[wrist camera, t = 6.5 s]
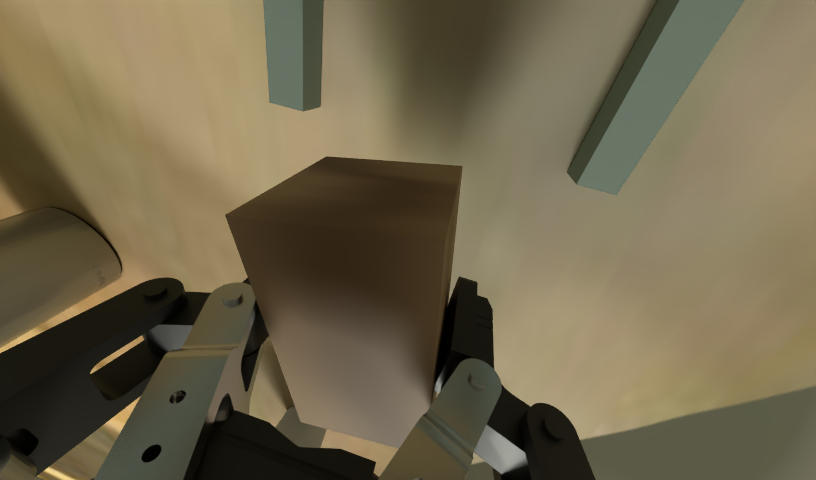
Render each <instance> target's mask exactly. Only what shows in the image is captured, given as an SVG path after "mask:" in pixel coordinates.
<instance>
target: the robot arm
mask: <svg viewBox="0 0 816 480" xmlns="http://www.w3.org/2000/svg"><path fill="white" fill-rule="evenodd" d="M120 275H121V267H120V264H119V261H118V259H117V257H116V255H115V253H114V252H113V250H112V249H111V248H110V246H109V245H108V244H107V243H106V242H105V240H104V239H103V238H102V237H101V236H100V235H99V234H98V233H97V232H96V231H94V230H93V229H92V228H91V227H90V226H88V225H87V224H86V223H84V222H83V221H82V220H80V219H78V218H77V217H75V216H74V215H72V214H69V213H67V212H65V211H63V210H59V209H56V208H43V209H40V210H37V211H34V212H33V211H27V212H24V213H20V214H17V215H14V216H11V217H8V218H5V219H2V220H0V348H1V347H3V346H5V345H6V344H8V343H10V342H11V341H13V340H15V339H17V338H18V337H20V336H22V335H23V334H25V333H27V332H29V331H30V330H32V329H34V328H35V327H37V326H39V325H41V324H42V323H44V322H46V321H48V320H49V319H51V318H53V317H54V316H56V315H58V314H60V313H61V312H63V311H65V310H66V309H68V308H70V307H72V306H73V305H75V304H77V303H79V302H80V301H82V300H84V299H86V298H87V297H89V296H91V295H92V294H94V293H96V292H98V291H99V290H101V289H103V288H104V287H106V286H108V285H110V284H111V283H113V282H115V281H116V280H118V279H119V277H120ZM492 321H493V314H492V308H491V305H490V303H489V301H488V299H487V298H484V297H481V296H478V295H477V282H476V281H472V280H469V279H466V278H462V277H459V278H458V280H457V283H456V285H455V288H454V290H453V293H452V296H451V298H450V301H449V303H448V306H447V312H446V318H445V324H444V330H443V337H442V343H441V349H440V355H439V362H438V368H437V374H436V380H435V387H434V391H435V392H438V393H439V394H438V396H437V397H436V399H435V400H434V402H433V403H432V405H431V406H430V408H429V409H428V411H427V412H426V413H425V414H423V415H422V416H421V418H420V419H419V420H418V422H417V423H416V425H415V426H414V427H413V429H412V430H411V432H410V433H409V435H408V436H407V438H406V439H405V441H404V442H403V444H402V445H401V446H400V448H399V449H398V451H397V452H396V454H395V455H394V457H393V458H392V460H391V461H390V462H389V464H388V465H387V467H386V468H385V470H384V471H383V473H382V474H381V476H380V477H378V476H377V475H376V474H374V473H373V472H374V468H375V464H376V462H374V461H372V460H369V459H366V458H364V457H361V456H358V455H355V454H353V453H350V452H347V451H345V450H342V449H332V448H310V447H299V446H297V445H296V444H294V443H293V442H292V441H291V440H289V439H288V438H287V437H286V436H285V435H283V434H282V433H281V432H280V431H278V430H277V429H276V428H275V427H274V426H272V425H271V424H270V423H269V422H266V421H264V420H261V419H258V418H255V417H253V416H250V415H249V405H250V398H251V393H252V390H253V386H254V382H255V378H256V375H257V371H258V367H259V363H260V359H261V356H262V352H263V348H264V343H263V342H264V341H265V340H266V338H267V337H268V336H269V334H268V331H267V328H266V326H265V323H264V320H263V317H262V315H261V312H260V309H259V306H258V304H257V301H256V298H255V295H254V293H253V290H252V287H251V284H250V282H249V279H248V278H247V279H246V280H244V281H243V282H242V283H230V284H226V285H223V286H221V287H219V288H217V289H215V290H214V291H213V292H212V293H203V292H185V290H184V287H183V284H182V283H181V282H180V281H179V280H177V279H174V278H157V279H152V280H149V281H146V282H143V283H141V284H139V285H137V286H135V287H133V288H131V289H129V290H127V291H125V292H123V293H121V294H119V295H117V296H115V297H113V298H111V299H109V300H107V301H105V302H103V303H101V304H99V305H97V306H95V307H93V308H91V309H89V310H87V311H85V312H83V313H81V314H79V315H76V316H74V317H72V318H70V319H68V320H66V321H64V322H62V323H60V324H58V325H56V326H54V327H52V328H50V329H48V330H46V331H44V332H42V333H40V334H38V335H36V336H34V337H32V338H30V339H28V340H26V341H24V342H22V343H20V344H18V345H16V346H14V347H12V348H10V349H8V350H6V351H4V352H2V353H0V480H34V479H35V477H36V476H37V475H39V474H40V473H41V472H43V471H44V470H45V469H46V468H48V467H49V466H50V465H52V464H53V463H54V462H56V461H57V460H58V459H59V458H61V457H62V456H63V455H65V454H66V453H67V452H68V451H70V450H71V449H72V448H74V447H75V446H76V445H78V444H79V443H80V442H81V441H83V440H84V439H85V438H87V437H88V436H89V435H91V434H92V433H93V432H94V431H96V430H97V429H98V428H100V427H101V426H102V425H104V424H105V423H106V422H107V421H109V420H110V419H111V418H113V417H114V416H115V415H116V414H118V413H119V412H120V411H122V410H123V409H124V408H126V407H127V406H128V405H129V404H131V403H132V402H133V401H135V400H136V399H137V398H139V397H140V396H141V397H140V399H139V401H138V403H137V404H136V406H135V408H134V410H133V411H132V413H131V415H130V417H129V418H128V420H127V422H126V424H125V425H124V427H123V429H122V431H121V433H120V434H119V436H118V438H117V440H116V441H115V443H114V445H113V447H112V448H111V450H110V452H109V454H108V456H107V457H106V459H105V461H104V463H103V464H102V466H101V468H100V470H99V471H98V473H97V475H96V477H95V478H93V479H91V480H464V479H465V476H466V474H467V472H468V470H469V467H470V465H471V463H472V460H473V452H474V453H475V454H477V455H478V456H479V457H480V458H482V459H483V460H484V461H486V462H487V463H488V464H489V465H491V466H492V468H493V474H494V480H595V477H594V475H593V473H592V470H591V467H590V465H589V462H588V460H587V457H586V455H585V452H584V450H583V447H582V445H581V442H580V440H579V437H578V435H577V432H576V430H575V428H574V426H573V425H572V423H571V422H570V420H569V419H568V418H567V417H566V416H565V415H564V414H563V413H562V412H561V411H559V410H558V409H557V408H555V407H553V406H551V405H549V404H545V403H536V404H534V405H533V406H531V407H530V406H529V405H527V404H526V403H524V402H523V401H521V400H520V399H518V398H517V397H515V396H514V395H512V394H511V393H510V392H509V391H507V390H506V389H505V388H504V386H503V385H502V384H501V381H500V378H499V376H498V374H497V373H496V372H495V370H494V352H493V331H492V330H493V322H492ZM141 335H142V336H143V338H144V341H142V342H141V343H139V344H138V345H136V346H134V347H133V348H131V349H130V350H128V351H127V352H125V353H124V354H122V355H120V356H119V357H117V358H116V359H114V360H113V361H111V362H110V363H108V364H106V365H105V366H103V367H102V368H100V369H99V370H97V371H95V372H94V373H92V374H90V372H91V370H92V369H93V367H94V366H95V365H96V364H97V363H99V362H100V361H101V360H103V359H104V358H106V357H108V356H109V355H111V354H112V353H114V352H116V351H117V350H119V349H120V348H122V347H124V346H125V345H127V344H128V343H130V342H132V341H133V340H135V339H136V338H138V337H140V336H141Z"/></svg>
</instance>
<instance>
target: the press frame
mask: <svg viewBox="0 0 816 480" xmlns="http://www.w3.org/2000/svg"><path fill="white" fill-rule="evenodd" d="M743 2H744V0H658V1H657V3H656V4H655V6H654V8H653V10H652V12H651V14H650V16H649V18H648V20H647V21H646V23H645V25H644V27H643V29H642V31H641V33H640V35H639V37H638V39H637V40H636V42H635V44H634V46H633V48H632V50H631V52H630V54H629V56H628V58H627V59H626V61H625V63H624V65H623V67H622V69H621V71H620V73H619V75H618V77H617V78H616V80H615V82H614V84H613V86H612V88H611V90H610V92H609V94H608V95H607V97H606V99H605V101H604V103H603V105H602V107H601V109H600V111H599V113H598V114H597V116H596V118H595V120H594V122H593V124H592V126H591V128H590V130H589V132H588V133H587V135H586V137H585V139H584V141H583V143H582V145H581V147H580V149H579V151H578V152H577V154H576V156H575V158H574V160H573V162H572V164H571V166H570V168H569V169H568V171H567V173H568V174H569V176H570V177H571V178H572V179H573V181H574V182H575V183H576V185H580V186H584V187H588V188H591V189H595V190H599V191H603V192H606V193H610V194H614V195H617V194H618V192H619V191H620V189H621V187H622V186H623V184H624V183H625V181H626V180H627V178H628V177H629V175H630V174H631V172H632V171H633V169H634V168H635V166H636V165H637V163H638V162H639V160H640V159H641V157H642V155H643V154H644V152H645V151H646V149H647V148H648V146H649V145H650V143H651V142H652V140H653V139H654V137H655V136H656V134H657V133H658V131H659V130H660V128H661V127H662V125H663V123H664V122H665V120H666V119H667V117H668V116H669V114H670V113H671V111H672V110H673V108H674V107H675V105H676V104H677V102H678V101H679V99H680V98H681V96H682V95H683V93H684V91H685V90H686V88H687V87H688V85H689V84H690V82H691V81H692V79H693V78H694V76H695V75H696V73H697V72H698V70H699V69H700V67H701V66H702V64H703V63H704V61H705V59H706V58H707V56H708V55H709V53H710V52H711V50H712V49H713V47H714V46H715V44H716V43H717V41H718V40H719V38H720V37H721V35H722V34H723V32H724V31H725V29H726V27H727V26H728V24H729V23H730V21H731V20H732V18H733V17H734V15H735V14H736V12H737V11H738V9H739V8H740V6H741V5H742V3H743ZM263 3H264V19H265V35H266V52H267V68H268V84H269V100H270V103H274V104H277V105H281V106H285V107H289V108H292V109H296V110H300V111H306V110H310V109H314V108H318V107H320V97H321V62H322V26H323V0H263Z"/></svg>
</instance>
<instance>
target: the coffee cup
mask: <svg viewBox="0 0 816 480" xmlns="http://www.w3.org/2000/svg"><path fill="white" fill-rule="evenodd" d="M275 428H276V429H277V430H278V431H280V432H281V433H282V434H283V435H285V436H286V437H287V438H288V439H289V440H291V441H292V442H293V443H294V444H296V445H297V446H299V447H310V448H320V447H321V444H322V441H323V438H324V435H325V432H326V429H325V428H321V427H317V426H313V425H310V424H306V423H302V422H300V419H299V416H298V413H297V411H296V408H295V406H293V407H290V408H289V409H288V410H287V412H286V413H285V414H284V416H283V417H282V419H281V420H280V422H279V423H278V425H277V426H276V427H275Z"/></svg>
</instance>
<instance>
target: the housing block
mask: <svg viewBox="0 0 816 480" xmlns="http://www.w3.org/2000/svg"><path fill="white" fill-rule="evenodd" d="M461 175H462V166H453V165H439V164H425V163H411V162H397V161H383V160H369V159H355V158H341V157H325V158H323V159H321V160H320V161H318V162H316V163H314V164H313V165H311V166H309V167H308V168H306V169H304V170H302V171H301V172H299V173H297V174H295V175H294V176H292V177H290V178H288V179H287V180H285V181H283V182H282V183H280V184H278V185H276V186H275V187H273V188H271V189H269V190H268V191H266V192H264V193H262V194H261V195H259V196H257V197H256V198H254V199H252V200H250V201H249V202H247V203H245V204H243V205H242V206H240V207H238V208H236V209H235V210H233V211H231V212H230V213H228V214H226V215H225V216H226V218H227V221H228V224H229V227H230V229H231V232H232V235H233V238H234V240H235V243H236V246H237V249H238V251H239V254H240V257H241V260H242V262H243V265H244V268H245V271H246V273H247V276H248V279H249V282H250V284H251V287H252V290H253V293H254V295H255V298H256V301H257V304H258V306H259V309H260V312H261V315H262V317H263V320H264V323H265V326H266V328H267V331H268V334H269V336H270V339H271V342H272V345H273V347H274V350H275V353H276V356H277V358H278V361H279V364H280V367H281V369H282V372H283V375H284V378H285V380H286V383H287V386H288V389H289V391H290V394H291V397H292V400H293V402H294V405H295V408H296V411H297V413H298V416H299V419H300V422H302V423H306V424H310V425H313V426H317V427H321V428H325V429H328V430H332V431H336V432H340V433H343V434H347V435H351V436H354V437H358V438H362V439H366V440H369V441H373V442H377V443H381V444H384V445H388V446H392V447H396V448H400V446H401V445H402V444H403V442H404V441H405V439H406V438H407V436H408V435H409V433H410V432H411V430H412V429H413V427H414V426H415V425H416V423H417V422H418V420H419V419H420V418H421V416H422V415H423V414H425V413H426V412H427V411H428V409H429V408H430V406H431V405H432V403H433V402H434V400H435V399H436V393H437V392H435V391H434V387H435V380H436V374H437V368H438V362H439V355H440V349H441V343H442V337H443V330H444V324H445V318H446V312H447V306H448V300H449V291H450V281H451V271H452V262H453V252H454V243H455V233H456V223H457V214H458V204H459V195H460V185H461Z"/></svg>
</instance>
